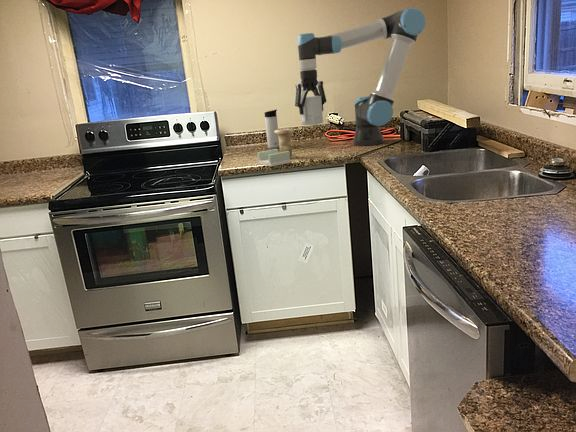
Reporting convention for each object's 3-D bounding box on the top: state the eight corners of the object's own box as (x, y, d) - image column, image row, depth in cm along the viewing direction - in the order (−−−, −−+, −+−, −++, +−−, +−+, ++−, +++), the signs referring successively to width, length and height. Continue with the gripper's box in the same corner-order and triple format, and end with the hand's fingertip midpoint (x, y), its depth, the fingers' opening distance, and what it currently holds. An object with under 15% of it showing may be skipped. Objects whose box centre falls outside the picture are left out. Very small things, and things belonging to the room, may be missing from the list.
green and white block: (277, 159, 242) (276, 148, 240) (290, 162, 232) (289, 151, 230) (258, 163, 237) (257, 152, 235) (270, 166, 227) (269, 155, 225)
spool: (289, 155, 250) (287, 128, 246) (299, 157, 242) (297, 129, 238) (273, 158, 246) (270, 130, 242) (283, 160, 238) (280, 132, 234)
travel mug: (278, 148, 270) (275, 110, 264) (266, 149, 271) (262, 111, 266) (281, 146, 276) (277, 108, 270) (269, 147, 277) (265, 109, 272)
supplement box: (323, 123, 240) (321, 95, 237) (314, 125, 235) (311, 97, 231) (311, 123, 245) (309, 96, 241) (301, 125, 240) (299, 97, 236)
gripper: (322, 67, 241) (326, 116, 248) (283, 72, 231) (288, 123, 237) (332, 67, 235) (335, 117, 242) (292, 71, 225) (297, 123, 231)
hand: (312, 120), depth 239 cm, fingers closed on supplement box, 9 cm apart
